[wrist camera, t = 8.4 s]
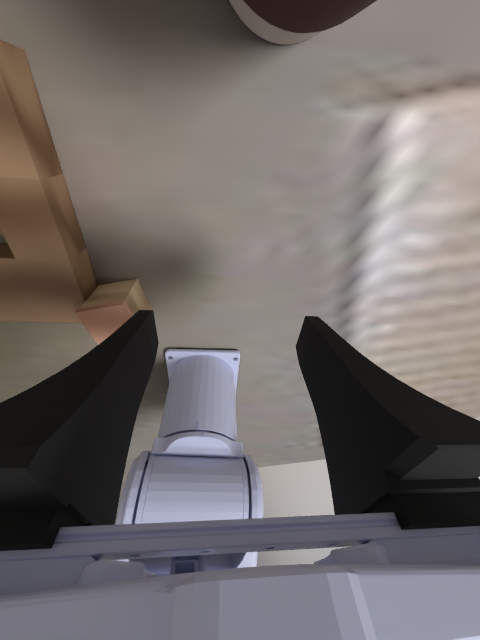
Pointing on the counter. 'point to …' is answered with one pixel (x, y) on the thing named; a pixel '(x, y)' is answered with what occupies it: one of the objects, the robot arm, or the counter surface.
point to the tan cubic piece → (111, 307)
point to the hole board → (35, 209)
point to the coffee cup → (295, 17)
